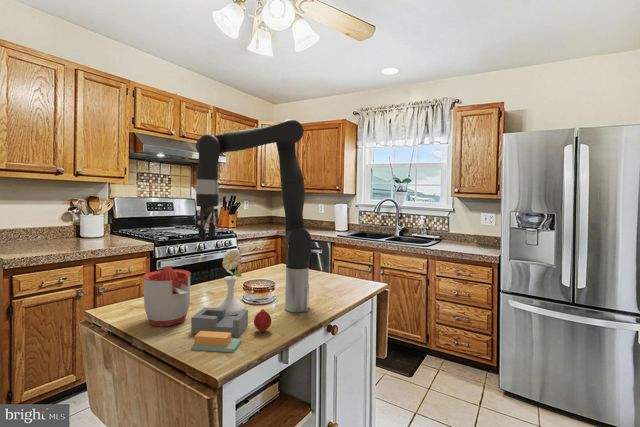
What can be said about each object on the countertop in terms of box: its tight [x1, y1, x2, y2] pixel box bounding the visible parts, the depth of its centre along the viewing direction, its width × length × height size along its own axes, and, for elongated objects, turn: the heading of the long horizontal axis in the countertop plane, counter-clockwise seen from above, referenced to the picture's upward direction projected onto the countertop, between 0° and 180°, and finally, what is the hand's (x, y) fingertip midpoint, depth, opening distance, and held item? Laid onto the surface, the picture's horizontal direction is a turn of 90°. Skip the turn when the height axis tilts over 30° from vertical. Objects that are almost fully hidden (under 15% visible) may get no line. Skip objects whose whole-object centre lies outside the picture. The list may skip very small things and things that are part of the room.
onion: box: [253, 308, 272, 333], centre depth 114 cm, size 6×6×8 cm
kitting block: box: [190, 306, 249, 338], centre depth 116 cm, size 16×10×6 cm, turn 85°
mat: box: [190, 337, 242, 353], centre depth 104 cm, size 13×7×1 cm, turn 85°
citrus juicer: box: [142, 265, 192, 328], centre depth 121 cm, size 16×17×20 cm
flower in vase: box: [215, 249, 246, 316], centre depth 130 cm, size 13×11×25 cm
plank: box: [194, 331, 233, 346], centre depth 103 cm, size 10×4×2 cm, turn 86°
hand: (207, 238), depth 120 cm, fingers open, 8 cm apart
